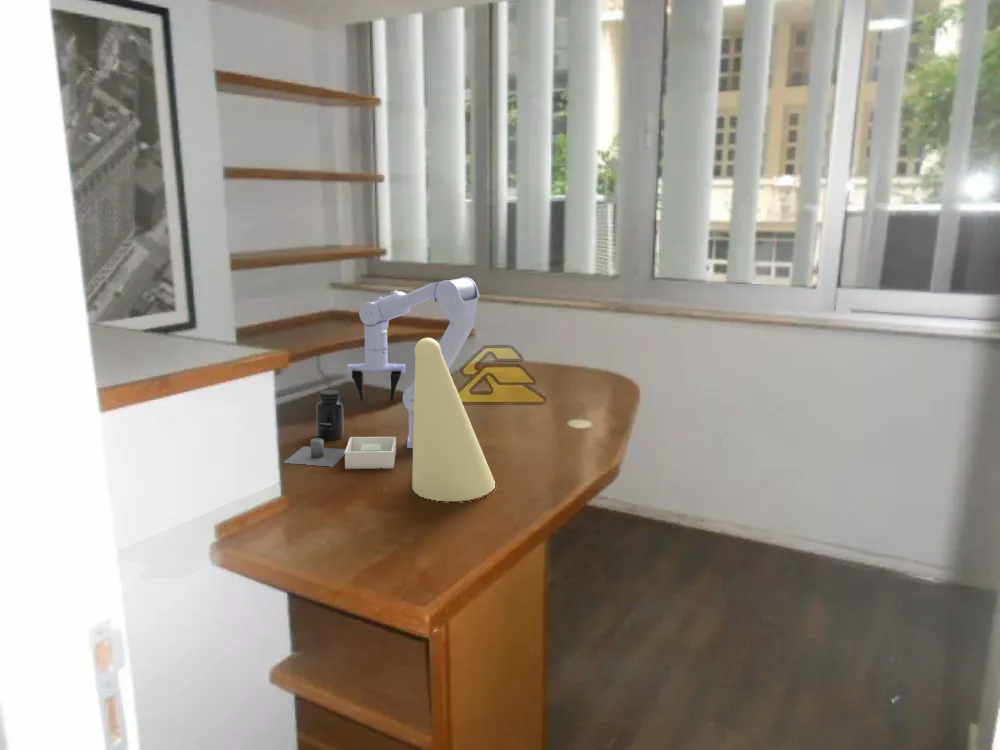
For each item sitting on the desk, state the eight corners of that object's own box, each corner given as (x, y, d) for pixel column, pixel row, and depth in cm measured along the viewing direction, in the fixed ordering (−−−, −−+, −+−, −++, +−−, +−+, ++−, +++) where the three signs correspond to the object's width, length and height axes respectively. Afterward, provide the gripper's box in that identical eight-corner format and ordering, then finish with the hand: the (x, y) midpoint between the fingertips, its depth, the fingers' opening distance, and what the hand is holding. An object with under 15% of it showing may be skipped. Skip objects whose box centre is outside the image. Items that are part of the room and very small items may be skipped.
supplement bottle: (320, 442, 190) (318, 396, 188) (314, 434, 196) (312, 390, 193) (347, 438, 194) (346, 393, 191) (339, 431, 199) (338, 387, 197)
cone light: (435, 466, 176) (435, 317, 167) (508, 478, 169) (512, 324, 161) (381, 504, 153) (378, 335, 145) (463, 520, 147) (464, 344, 139)
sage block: (381, 455, 181) (381, 443, 180) (380, 461, 176) (380, 449, 176) (362, 455, 180) (362, 443, 180) (360, 462, 176) (360, 449, 175)
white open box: (396, 452, 184) (395, 436, 183) (393, 468, 174) (393, 451, 173) (350, 452, 183) (350, 437, 182) (345, 468, 173) (344, 452, 172)
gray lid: (350, 452, 185) (349, 434, 184) (332, 469, 174) (331, 450, 173) (304, 449, 187) (303, 430, 186) (283, 465, 176) (282, 446, 174)
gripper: (405, 345, 197) (406, 395, 200) (349, 345, 196) (350, 395, 199) (404, 350, 190) (404, 402, 193) (346, 350, 189) (347, 402, 192)
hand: (377, 399), depth 196 cm, fingers open, 7 cm apart
